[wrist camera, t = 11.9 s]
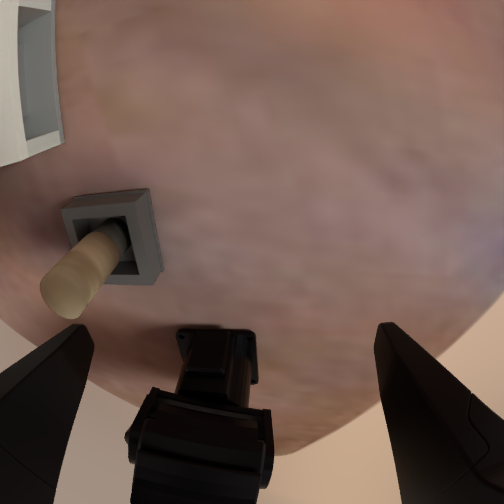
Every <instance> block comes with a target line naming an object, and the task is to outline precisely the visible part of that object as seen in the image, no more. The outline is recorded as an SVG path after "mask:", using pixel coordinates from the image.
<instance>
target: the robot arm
mask: <svg viewBox="0 0 504 504" xmlns="http://www.w3.org/2000/svg"><path fill="white" fill-rule="evenodd" d="M182 335H183V336H182ZM248 337H251V338H248ZM176 339H177V342H178V346H179V349H180V353H181V356H182V359H183V365H182V369H181V372H180V376H179V379H178V383H177V386H176V389H175V393H171V392H167V391H163V390H160V389H159V388H155V387H152V389H151V391H150V393H149V395H148V394H147V396H146V398H145V400H144V402H143V404H142V406H141V408H140V410H139V412H138V414H137V416H136V418H135V420H134V422H133V424H132V425H131V426H130V428H129V429H128V430H127V432H126V433H125V437H124V438H125V441H126V443H127V444H128V451H129V452H128V458H129V462H130V463H132V464H135V469H134V476H133V483H132V493H131V498H130V503H131V504H256V502H257V498H258V493H259V489H265V488H267V486H268V484H269V481H270V478H271V474H272V470H273V463H274V440H273V429H272V418H271V410H269V409H263V410H260V409H253V408H248V405H249V394H250V385H254V384H257V383H258V379H259V377H258V362H257V346H256V335H255V333H254V332H252V331H220V330H190V329H179V330H178V331H177V333H176ZM93 352H94V342H93V340H92V338H91V336H90V334H89V332H88V330H87V328H86V326H85V325H83V324H72V325H71V326H69V327H68V328H66V329H65V330H63V331H62V332H60V333H59V334H57V335H56V336H54V337H53V338H51V339H50V340H48V341H47V342H45V343H44V344H42V345H41V346H39V347H38V348H36V349H35V350H33V351H32V352H30V353H29V354H28V355H26V356H25V357H23V358H22V359H20V360H19V361H18V362H16V363H15V364H13V365H12V366H10V367H9V368H7V369H6V370H4V371H3V372H1V373H0V504H53V502H54V497H55V492H56V487H57V483H58V479H59V475H60V470H61V466H62V462H63V459H64V455H65V451H66V447H67V444H68V440H69V436H70V433H71V430H72V426H73V423H74V420H75V417H76V413H77V410H78V407H79V404H80V401H81V398H82V395H83V392H84V388H85V385H86V381H87V376H88V372H89V368H90V364H91V360H92V356H93ZM374 354H375V361H376V368H377V376H378V383H379V391H380V398H381V402H382V406H383V411H384V415H385V419H386V424H387V428H388V432H389V437H390V442H391V447H392V451H393V456H394V461H395V467H396V472H397V477H398V483H399V489H400V495H401V501H402V504H504V420H503V419H502V418H501V417H500V416H498V415H497V414H496V413H495V412H493V411H492V410H491V409H490V408H489V407H488V406H486V405H485V404H484V403H483V402H482V401H481V400H480V399H478V397H476V396H475V395H474V394H473V393H472V394H471V391H470V390H469V389H468V388H467V387H466V386H465V385H463V384H462V383H461V382H460V381H459V380H458V379H457V378H456V377H455V376H454V375H452V374H451V373H450V372H449V371H448V370H447V369H446V368H445V367H444V366H442V365H441V364H440V363H439V362H438V361H437V360H436V359H435V358H434V357H433V356H431V355H430V354H429V353H428V352H427V351H426V350H425V349H424V348H422V347H421V346H420V345H419V344H418V343H417V342H416V341H414V340H413V339H412V338H411V337H410V336H409V335H408V334H406V333H405V332H404V331H403V330H402V329H401V328H400V327H398V326H397V325H396V324H395V323H393V322H385V323H380V324H379V325H378V329H377V333H376V338H375V342H374Z"/></svg>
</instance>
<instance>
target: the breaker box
mask: <svg viewBox="0 0 504 504" xmlns="http://www.w3.org/2000/svg"><path fill="white" fill-rule="evenodd" d="M55 1H56V0H0V167H2V166H5V165H8V164H12V163H15V162H19V161H22V160H24V159H26V158H28V157H31V156H33V155H35V154H38V153H40V152H43V151H45V150H48V149H50V148H53V147H55V146H58V145H60V144H63V143H65V140H64V134H63V127H62V120H61V112H60V104H59V94H58V83H57V70H56V51H55Z"/></svg>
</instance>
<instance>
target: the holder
mask: <svg viewBox="0 0 504 504" xmlns="http://www.w3.org/2000/svg"><path fill="white" fill-rule="evenodd" d="M60 210H61V214H62V218H63V221H64V225H65V229H66V232H67V235H68V239H69V242H70V245H71V249H72V248H73V247H74V246H76V245H77V244H78V243H79V242H80V241H81V240H82V239H83V238H84V237H85V236H86V235H87V234H89V233H91V232H93V231H94V230H95V229H96V228H97V227H98V226H99V225H100V224H101V223H103V222H104V221H105V220H106V219H108V218H119V219H121V220H123V221H124V222H125V223H126V224H127V225H128V229H129V234H130V238H131V242H132V244H131V246H130V247H129V249H128V250H127V251H126V252H125V253H124V255H123V256H122V257H121V258H120V260H119V262H118V265H117V266H116V267H115V269H114V270H113V271H112V273H111V274H110V275H109V276H108V278H107V279H106V280H105V282H104V283H103V284H118V285H154V283H155V281H156V279H157V278H158V276H159V274H160V272H163V271H164V265H163V260H162V256H161V251H160V246H159V241H158V236H157V231H156V225H155V220H154V215H153V209H152V203H151V198H150V192H149V189H140V190H130V191H119V192H110V193H101V194H92V195H84V196H75V197H74V198H73V201H71V202H70V203H68V204H67V205H66V206H64V207H63V208H61V209H60Z"/></svg>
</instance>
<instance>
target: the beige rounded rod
mask: <svg viewBox="0 0 504 504" xmlns="http://www.w3.org/2000/svg"><path fill="white" fill-rule="evenodd" d="M131 244H132V242H131V238H130V234H129V229H128V225H127V224H126V223H125V222H124V221H123V220H121V219H119V218H108V219H106V220H105V221H104V222H103V223H101V224H100V225H99V226H98V227H97V228H96V229H95V230H94V231H93V232H91V233H89V234H87V235H86V236H85V237H84V238H83V239H82V240H81V241H80V242H79V243H78V244H77V245H76V246H74V247H73V248H72V249H71V250H70V251H69V252H68V253H67V254H66V255H65V256H64V257H63V258H62V259H61V260H60V261H59V262H58V263H57V264H56V265H55V266H54V267H53V268H52V269H51V270H50V271H49V272H48V273H47V274H46V275H45V276H44V277H43V278H42V280H41V282H40V291H41V295H42V297H43V299H44V301H45V303H46V304H47V305H48V307H49V308H50V309H51V310H52V311H53V312H55V313H56V314H58V315H59V316H61V317H63V318H66V319H75V318H78V317H79V316H80V315H81V313H82V312H83V310H84V309H85V308H86V306H87V305H88V303H89V302H90V301H91V299H92V298H93V297H94V295H95V294H96V292H97V291H98V290H99V288H100V287H101V286H102V284H103V283H104V282H105V280H106V279H107V278H108V276H109V275H110V274H111V273H112V271H113V270H114V269H115V267H116V266H117V265H118V262H119V260H120V258H121V257H122V256H123V255H124V253H125V252H126V251H127V250H128V249H129V247H130V246H131Z"/></svg>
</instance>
